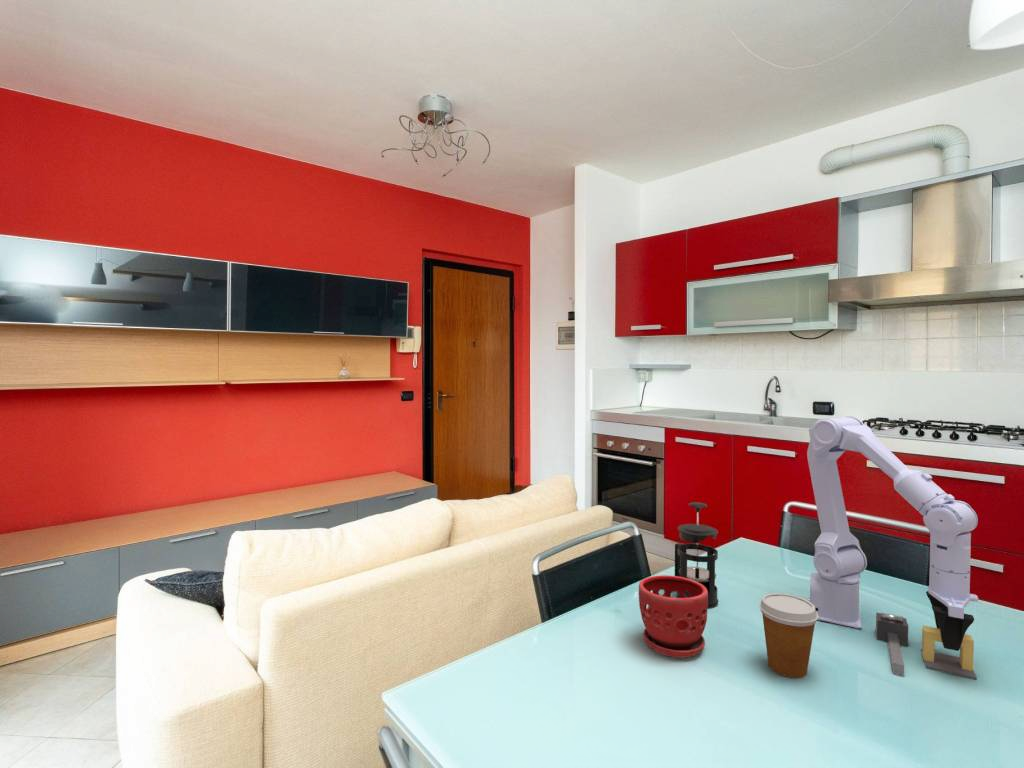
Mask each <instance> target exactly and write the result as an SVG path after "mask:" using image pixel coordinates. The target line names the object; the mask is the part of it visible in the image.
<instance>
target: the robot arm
mask: <svg viewBox="0 0 1024 768" xmlns="http://www.w3.org/2000/svg"><path fill="white" fill-rule="evenodd" d="M808 433H809V434H808V435H809V444H808V447H807V452H806V456H807V462H808V463H807V464H808V469H809V473H810V477H811V479H810V480H811V485H812V489H813V495H814V501H815V507H816V513H817V517H818V523H819V528H820V533H819V536H818V538H817V539H816V540H815V542H814V556H813V560H812V561H813V565H814V568H815V570H816V572H810V577H809V581H810V583H809V597H808V601H809V602H811V603H812V604H813V605H814V606H815V609H816V612H817V613H818V620H819V621H823V622H827V623H831V624H836V625H840V626H845V627H850V628H854V629H862V618H861V616H862V615H861V612H860V579H861V573H863V572H864V571H865V570H866V569H867V566H868V560H867V556H866V554H865V552H863V550H862V547H861V545H860V541H859V539H858V537H856V536H855V535H853V534H852V533H851V531H850V527H849V525H850V524H849V522H848V515H847V511H846V505H845V500H844V495H843V490H842V489H843V488H842V484H841V480H840V474H839V473H840V472H839V469H838V463H837V460H838V459H839V458H840V457H841V456H842V455H843V454H844V453H845V452H846V451H852V452H857V453H860V454H861V455H863V456H864V457H865V458H866V459H868V460H869V461H870V463H871V462H872V464H874V465H875V466H876V467H877V468H879V470H881V471H882V472H883V473H884V474H886V475H887V476H888V477H889V478H890V479H892V480H893V487H894V488H893V489H894V491H896V492H897V493H898V494H899V495H900V496H901V497H902V498H904V499H903V500H905V501H907V503H908V504H910V505H911V506H912V507H913V509H914V508H915V510H916V511H918V513H919V514H920V515H921V516H922V519H923V524H924V526H925V527H926V528H927V530H928V531H929V534H930V537H929V538H930V540H929V545H930V546H929V575H928V576H929V579H928V580H929V581H928V583H929V585H928V586H927V591H926V592H925V594H926V596H927V598H928V600H929V601H930V604H931V609H932V612H933V615H934V617H933V618H934V622H935V628H938V629H940V633H941V639H942V642H941V643H942V645H943V648H944V649H946V650H952V651H954V652H955V651H956V652H960V647H961V644H962V641H963V637H964V635H965V634H966V632H967V630H968V629H969V627H970V626H971V625H972V624H974V621H975V618H974V615H973V614H969V613H965V608H966V607H967V605H969V603H970V602H974V603H975V602H976V603H978V602H979V597H978V595H976V594H974V593H970V589H971V588H970V587H971V585H970V584H971V583H970V582H971V550H972V549H971V548H972V547H971V540H972V539H971V538H972V532H971V531H973V530H975V529H976V528H977V526H978V522H979V519H978V514H977V513H976V511H975V510H974V509H973V508H972V506H971V505H970V504H969V503H967V502H965V501H962V500H955V498H956V497H955V496H953V495H952V494H950V493H949V494H948V493H947V492H945V490H943V489H942V488H941V487H940V486H939V485H937V484H936V482H934V481H933V480H932V479H933V476H932V475H931V474H929V473H928V472H922V471H921V470H918V469H910V468H908V466H906V465H905V464H904V463H903V462H902V461H901V460H900V459H899V458H898V457H897V456H896V455H895V454H894V453H893V452H892V451H891V450H890V449H889V448H888V447H887V446H886V445H885V444H884V443H883V442H882V441H881V440H880V439H879V438H878V437H877V436H876V435H875V434H874V432H873V430H872V429H871V427H870V426H868V425H866V424H864V422H863V421H862V420H861V419H859V418H857V417H855V416H851V415H850V416H845V417H821V418H819V419H817V420H816V421H815V422H814V423H813V424H812V425H811V427H809V429H808ZM818 620H817V621H818Z"/></svg>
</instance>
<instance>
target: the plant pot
mask: <svg viewBox="0 0 1024 768" xmlns="http://www.w3.org/2000/svg"><path fill="white" fill-rule="evenodd" d="M661 590H663V594H661V595H660V591H661ZM685 591H688V592H689V593H690V596H689V597H686V596H685ZM674 592H675V593H677V592H678V593H679V594H680V596H681V598H676V597H671V594H672V593H674ZM638 605H639V611H640V615H641V620H642V623H643V625H644V627H645V629H644V631H643V635H642V636H643V640H644V641H645V643H646V645H647V646H649V648H651V649H652V650H653V651H655V652H657V653H659V654H662V655H664V656H667V657H671V658H690V657H693V656H696V655H697V654H700V653H701V652H702V651H703V649H704V648H705V646H706V639H705V638H704V636H703V633H704V631H705V628H706V624H707V621H708V609H709V608H708V591H707V589H706V587H705V586H703V585H702V584H701V583H699V582H697V581H694V580H691V579H688V578H684V577H678V576H675V575H666V574H665V575H664V574H662V575H654V576H653V575H652V576H648V577H645V578H643V579H642V580H641V581H639V583H638ZM707 608H708V609H707Z"/></svg>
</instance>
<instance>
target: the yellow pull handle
mask: <svg viewBox="0 0 1024 768" xmlns="http://www.w3.org/2000/svg"><path fill="white" fill-rule="evenodd" d="M921 639H922V641H921V649H922V652H921V654H922V655H921V656H922V659H923V661H924V660H926V661H931V662H934V652H935V642H937V643H942V639H941V633H940V629H938V628H937V627H933V626H927V625H924V624H923V625H922V638H921ZM974 641H975V640H974V639H973V636H972V635H971V634H967V633H965V635H964V637H963V641H962V644H961V647H960V649H959V657H960V665H961V667H962V669H965V670H969V671H974V652H975V651H974V649H975V644H974V643H975V642H974Z"/></svg>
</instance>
